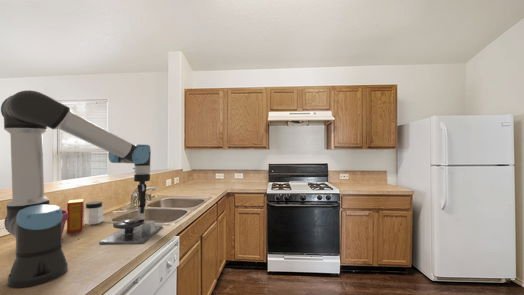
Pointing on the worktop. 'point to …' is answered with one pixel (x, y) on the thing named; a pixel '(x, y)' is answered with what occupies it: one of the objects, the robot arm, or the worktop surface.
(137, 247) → the worktop surface
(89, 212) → the jar
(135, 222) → the handwheel
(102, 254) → the worktop surface
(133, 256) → the worktop surface
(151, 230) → the dark grey flat piece
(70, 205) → the baking soda box
